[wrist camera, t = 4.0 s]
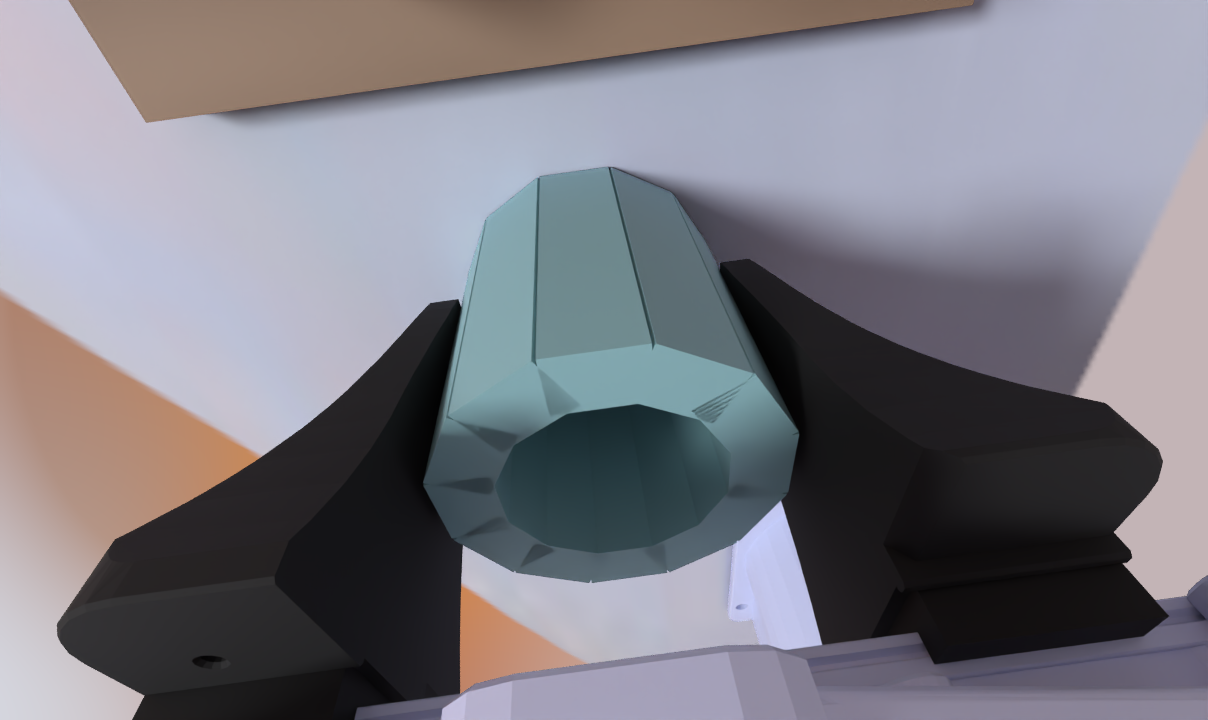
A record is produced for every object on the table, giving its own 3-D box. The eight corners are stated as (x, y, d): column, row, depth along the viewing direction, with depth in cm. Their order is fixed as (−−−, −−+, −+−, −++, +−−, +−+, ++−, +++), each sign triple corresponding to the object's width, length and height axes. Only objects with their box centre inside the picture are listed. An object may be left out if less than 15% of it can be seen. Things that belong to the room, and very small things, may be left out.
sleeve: (703, 357, 15) (775, 558, 10) (503, 384, 15) (483, 597, 10) (707, 152, 11) (820, 320, 6) (441, 190, 11) (367, 382, 7)
